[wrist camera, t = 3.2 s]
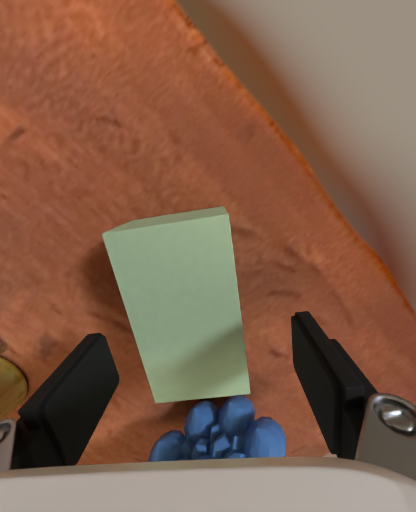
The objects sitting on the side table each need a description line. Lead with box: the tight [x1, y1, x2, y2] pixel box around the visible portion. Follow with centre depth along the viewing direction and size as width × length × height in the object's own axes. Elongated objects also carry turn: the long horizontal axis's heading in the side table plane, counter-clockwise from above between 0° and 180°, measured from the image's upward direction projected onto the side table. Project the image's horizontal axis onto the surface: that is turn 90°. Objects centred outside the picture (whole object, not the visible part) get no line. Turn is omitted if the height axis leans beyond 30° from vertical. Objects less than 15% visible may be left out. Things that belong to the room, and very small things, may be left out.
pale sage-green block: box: [102, 206, 250, 403], centre depth 13 cm, size 11×6×4 cm, turn 9°
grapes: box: [148, 395, 286, 462], centre depth 13 cm, size 12×7×12 cm, turn 112°
